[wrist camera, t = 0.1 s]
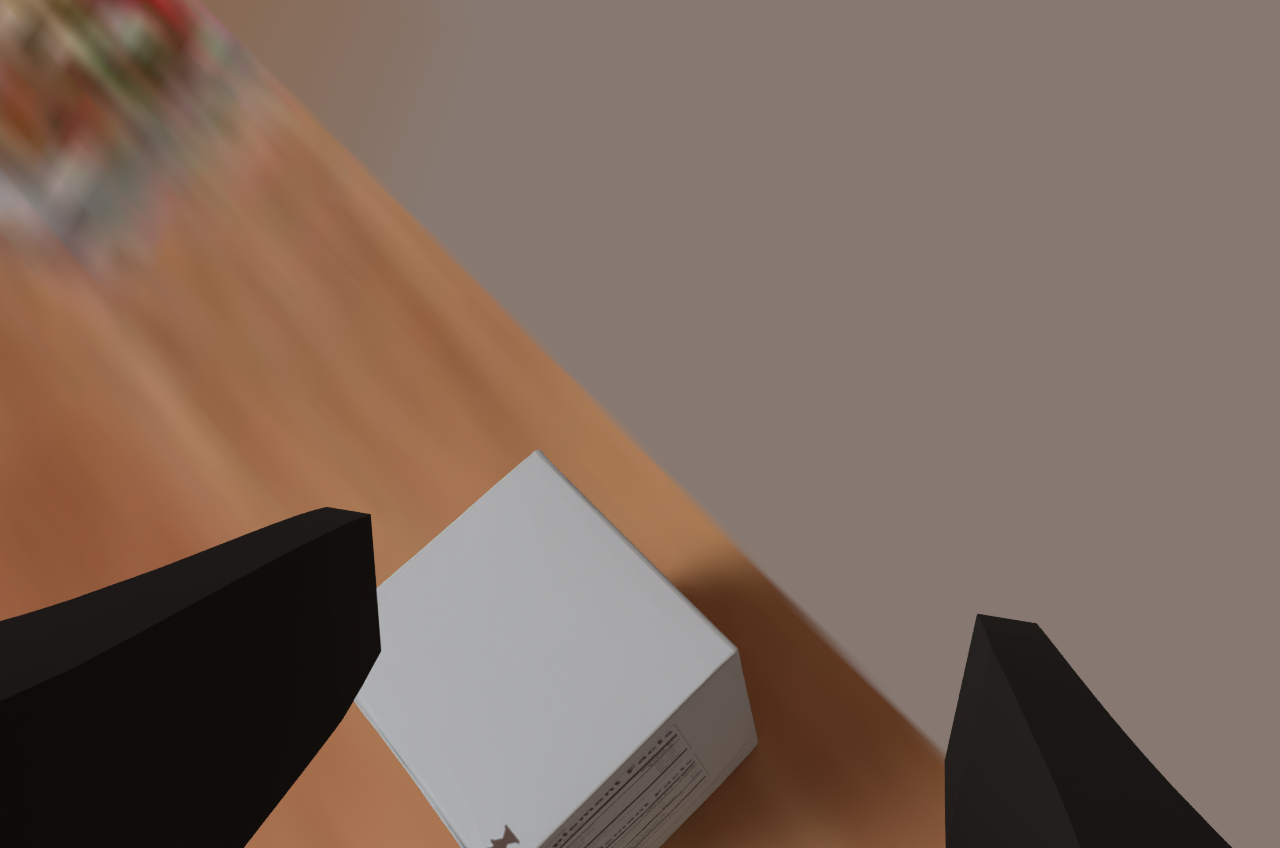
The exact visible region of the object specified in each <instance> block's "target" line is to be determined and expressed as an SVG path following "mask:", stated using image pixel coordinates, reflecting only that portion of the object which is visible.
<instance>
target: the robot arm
mask: <svg viewBox="0 0 1280 848" xmlns="http://www.w3.org/2000/svg"><path fill="white" fill-rule="evenodd" d="M380 653H381V639H380V626H379V614H378V601H377V588H376V576H375V563H374V550H373V537H372V525H371V514H366V513H360V512H354V511H348V510H342V509H336V508H330V507H324V508H321V509H317V510H313V511H310V512H306V513H303V514H300V515H297V516H294V517H291V518H289V519H286V520H283V521H280V522H278V523H275V524H272V525H269V526H267V527H264V528H262V529H259V530H256V531H254V532H251V533H249V534H246V535H243V536H241V537H238V538H236V539H233V540H231V541H228V542H225V543H223V544H220V545H218V546H215V547H213V548H210V549H207V550H205V551H202V552H200V553H197V554H195V555H192V556H190V557H187V558H184V559H182V560H179V561H177V562H174V563H172V564H169V565H166V566H164V567H161V568H158V569H156V570H153V571H150V572H147V573H144V574H142V575H139V576H136V577H133V578H130V579H128V580H125V581H122V582H119V583H116V584H113V585H111V586H108V587H105V588H102V589H99V590H97V591H94V592H91V593H88V594H85V595H83V596H80V597H77V598H74V599H71V600H68V601H65V602H62V603H59V604H56V605H53V606H50V607H46V608H43V609H40V610H37V611H33V612H30V613H27V614H24V615H20V616H17V617H13V618H10V619H6V620H3V621H0V848H244V847H245V846H246V844H247V843H248V842H249V840H250V839H251V838H252V837H253V835H254V834H255V833H256V831H257V830H258V829H259V828H260V826H261V825H262V824H263V822H264V821H265V820H266V819H267V817H268V816H269V815H270V813H271V812H272V811H273V810H274V808H275V807H276V806H277V804H278V803H279V802H280V801H281V799H282V798H283V797H284V795H285V794H286V793H287V792H288V790H289V789H290V788H291V786H292V785H293V784H294V783H295V781H296V780H297V779H298V777H299V776H300V775H301V774H302V772H303V771H304V770H305V768H306V767H307V766H308V764H309V763H310V762H311V761H312V759H313V758H314V757H315V755H316V754H317V753H318V751H319V750H320V749H321V747H322V746H323V745H324V744H325V742H326V741H327V740H328V738H329V737H330V736H331V734H332V733H333V732H334V730H335V729H336V728H337V726H338V725H339V723H340V722H341V721H342V719H343V718H344V716H345V714H346V713H347V711H348V709H349V708H350V706H351V704H352V703H353V701H354V699H355V698H356V696H357V694H358V693H359V691H360V689H361V688H362V686H363V684H364V682H365V680H366V678H367V677H368V675H369V673H370V671H371V669H372V667H373V666H374V664H375V662H376V660H377V658H378V656H379V655H380ZM945 832H946V848H1232V847H1231V846H1230V845H1229V844H1228V843H1227V842H1226V841H1225V840H1224V839H1223V838H1222V837H1221V836H1220V835H1219V834H1218V833H1217V832H1216V831H1215V830H1214V829H1213V828H1212V827H1211V826H1210V825H1209V824H1208V823H1207V822H1206V821H1205V820H1204V819H1203V817H1202V816H1201V815H1200V814H1199V813H1198V812H1197V811H1196V810H1195V809H1194V808H1193V807H1192V806H1191V805H1190V804H1189V803H1188V802H1187V801H1186V800H1185V799H1184V798H1183V797H1182V796H1181V795H1180V794H1179V793H1178V792H1177V790H1176V789H1175V788H1174V787H1173V786H1172V785H1171V784H1170V783H1169V782H1168V781H1167V780H1166V779H1165V777H1164V776H1163V775H1162V774H1161V773H1160V772H1159V771H1158V770H1157V769H1156V768H1155V766H1154V765H1153V764H1152V763H1151V762H1150V761H1149V760H1148V759H1147V758H1146V756H1145V755H1144V754H1143V753H1142V752H1141V751H1140V750H1139V748H1138V747H1137V746H1136V745H1135V744H1134V743H1133V741H1132V740H1131V739H1130V738H1129V737H1128V736H1127V734H1125V732H1124V731H1123V730H1122V729H1121V727H1120V726H1119V725H1118V724H1117V723H1116V722H1115V720H1114V719H1113V718H1112V717H1111V716H1110V714H1109V713H1108V712H1107V711H1106V710H1105V708H1104V707H1103V706H1102V705H1101V703H1100V702H1099V701H1098V700H1097V699H1096V697H1095V696H1094V695H1093V694H1092V692H1091V691H1090V690H1089V689H1088V687H1087V686H1086V685H1085V684H1084V682H1083V681H1082V680H1081V679H1080V677H1079V676H1078V675H1077V674H1076V672H1075V671H1074V670H1073V669H1072V667H1071V666H1070V665H1069V664H1068V662H1067V661H1066V660H1065V659H1064V657H1063V656H1062V655H1061V653H1060V652H1059V651H1058V649H1057V648H1056V647H1055V646H1054V644H1053V643H1052V642H1051V641H1050V639H1049V638H1048V637H1047V636H1046V634H1045V633H1044V632H1043V631H1042V629H1041V628H1039V626H1038V625H1037V624H1036V623H1031V622H1025V621H1018V620H1012V619H1006V618H1000V617H994V616H988V615H982V614H977V617H976V621H975V626H974V631H973V635H972V640H971V644H970V649H969V654H968V658H967V663H966V667H965V672H964V677H963V680H962V685H961V690H960V694H959V699H958V703H957V708H956V712H955V717H954V722H953V726H952V731H951V735H950V740H949V744H948V749H947V753H946V758H945Z"/></svg>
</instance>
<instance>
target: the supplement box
mask: <svg viewBox="0 0 1280 848" xmlns="http://www.w3.org/2000/svg"><path fill="white" fill-rule="evenodd" d="M377 601H378V614H379V626H380V639H381V653H380V655H379V656H378V658H377V660H376V662H375V664H374V666H373V667H372V669H371V671H370V673H369V675H368V677H367V678H366V680H365V682H364V684H363V686H362V688H361V689H360V691H359V693H358V694H357V696H356V698H355V699H354V702H355V703H356V705H357V706H358V707H359V709H360V710H361V711H362V713H363V714H364V715H365V717H366V718H367V719H368V720H369V722H370V723H371V724H372V725H373V727H374V728H375V729H376V730H377V732H378V733H379V735H380V736H381V737H382V739H383V740H384V741H385V743H386V744H387V745H388V747H389V748H390V749H391V751H392V752H393V753H394V755H395V756H396V757H397V759H398V760H399V761H400V763H401V764H402V765H403V767H404V768H405V769H406V771H407V772H408V773H409V775H410V776H411V777H412V779H413V780H414V782H415V783H416V785H417V786H418V787H419V789H420V790H421V792H422V793H423V794H424V796H425V797H426V799H427V800H428V801H429V803H430V804H431V806H432V807H433V808H434V810H435V811H436V813H437V814H438V816H439V817H440V818H441V820H442V821H443V823H444V824H445V825H446V827H447V828H448V830H449V831H450V833H451V834H452V835H453V837H454V838H455V840H456V841H457V843H458V844H459V845H460V847H461V848H659V847H660V846H661V845H662V844H663V843H664V842H665V841H666V840H667V839H668V838H669V837H670V836H671V835H672V834H673V833H674V832H675V831H676V830H677V829H678V828H679V827H680V826H681V825H682V824H683V823H684V822H685V821H686V820H687V819H688V818H689V817H690V816H691V815H692V814H693V813H694V812H695V811H696V810H697V809H698V808H699V807H700V806H701V805H702V804H703V803H704V802H705V800H706V799H707V798H708V797H709V796H710V795H711V794H712V793H713V792H714V791H715V790H716V789H717V788H718V787H719V786H720V785H721V784H722V783H723V782H724V781H725V779H726V778H727V777H728V776H729V775H730V774H731V773H732V772H733V771H734V770H735V769H736V768H737V767H738V766H739V765H740V764H741V762H742V761H743V760H744V759H745V758H746V757H747V756H748V755H749V754H750V753H751V751H752V750H753V749H754V748H755V747H756V745H757V744H758V738H757V733H756V729H755V725H754V720H753V716H752V712H751V707H750V703H749V698H748V694H747V689H746V684H745V679H744V675H743V671H742V666H741V661H740V656H739V651H738V648H737V647H736V646H735V645H734V644H733V643H732V642H731V641H730V640H729V639H728V638H727V637H726V636H725V635H724V634H723V633H722V632H721V631H720V630H719V629H718V628H717V627H716V626H715V625H714V624H713V623H712V622H711V621H710V620H709V619H708V618H707V617H706V616H705V615H704V614H703V613H702V612H701V611H700V610H699V609H698V608H697V607H696V606H695V605H693V604H692V603H691V602H690V601H689V600H688V599H687V598H686V597H685V596H684V595H683V594H682V593H681V592H680V591H679V590H678V589H677V588H676V587H675V586H674V585H673V584H672V583H671V582H670V581H669V580H668V579H667V578H666V577H665V576H664V575H663V574H662V573H661V572H660V571H659V570H658V569H657V568H656V567H655V566H654V565H653V564H652V563H651V562H650V561H649V560H648V559H647V558H646V557H645V556H644V555H643V554H642V553H641V552H640V551H639V550H638V549H637V548H636V547H635V546H634V545H633V544H632V543H631V542H630V541H629V540H628V539H627V538H626V537H625V536H624V535H623V534H622V533H621V532H620V531H619V530H618V529H617V528H616V527H615V526H614V525H613V524H612V523H611V522H610V521H609V520H608V519H607V518H606V517H605V516H604V515H603V514H602V513H601V512H600V511H599V510H598V509H597V508H596V507H595V506H594V505H593V504H592V503H591V502H590V501H589V500H588V499H587V498H586V497H585V496H584V495H583V494H582V493H581V492H580V491H579V490H578V489H577V488H576V487H575V486H574V485H573V484H572V483H571V482H570V481H569V480H568V479H567V478H566V477H565V476H564V475H563V474H562V473H561V472H560V471H559V470H558V469H557V468H556V467H555V466H554V465H553V464H552V463H551V462H550V461H549V460H548V458H547V457H546V456H545V455H544V454H543V452H542V451H541V450H536V451H534V452H533V453H532V454H531V455H530V456H528V457H527V458H526V459H525V460H524V461H522V462H521V463H520V464H519V465H518V466H516V467H515V468H514V469H513V470H512V471H511V472H510V473H508V474H507V475H506V476H505V477H504V478H503V479H501V480H500V481H499V482H498V483H497V484H495V485H494V486H493V487H492V488H491V489H490V490H489V491H488V492H486V493H485V494H484V495H483V496H482V497H481V498H480V499H479V500H477V501H476V502H475V503H474V504H473V505H472V506H471V507H470V508H468V509H467V510H466V511H465V512H464V513H463V514H462V515H461V516H459V517H458V518H457V519H456V520H455V521H454V522H453V523H451V524H450V525H449V526H448V527H447V528H446V529H445V530H443V531H442V532H441V533H440V534H439V535H438V536H436V537H435V538H434V539H433V540H432V541H431V542H430V543H428V544H427V545H426V546H425V547H424V548H423V549H422V550H420V551H419V552H418V553H417V554H416V555H415V556H413V557H412V558H411V559H410V560H409V561H408V562H406V563H405V564H404V565H403V566H402V567H401V568H400V569H398V570H397V571H396V572H395V573H394V574H393V575H391V576H390V577H389V578H388V579H387V580H386V581H384V582H383V583H382V584H381V585H380V586H379V587H378V588H377Z"/></svg>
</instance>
